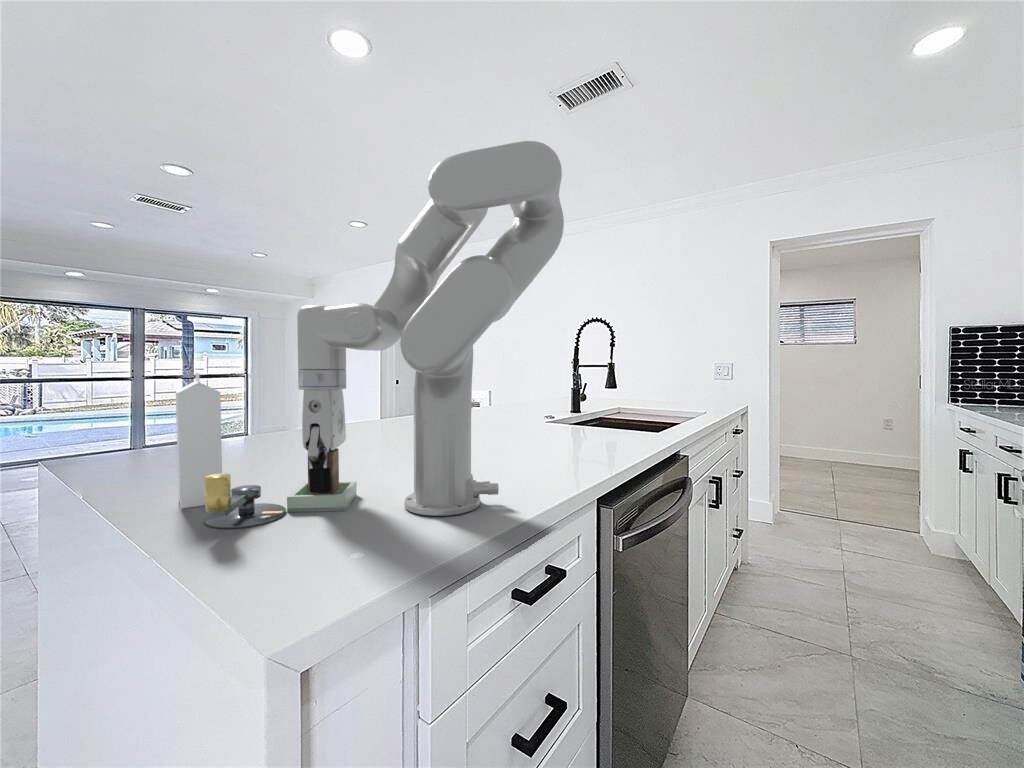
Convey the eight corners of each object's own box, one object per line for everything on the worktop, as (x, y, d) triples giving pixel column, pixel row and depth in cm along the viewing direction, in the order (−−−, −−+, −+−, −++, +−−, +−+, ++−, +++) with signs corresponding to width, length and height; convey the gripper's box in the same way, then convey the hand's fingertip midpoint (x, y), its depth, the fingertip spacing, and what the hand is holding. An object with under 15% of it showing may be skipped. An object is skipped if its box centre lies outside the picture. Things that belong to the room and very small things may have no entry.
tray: (356, 495, 88) (356, 481, 87) (345, 510, 79) (345, 495, 79) (304, 496, 87) (304, 482, 86) (287, 512, 78) (286, 496, 77)
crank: (238, 494, 77) (237, 459, 77) (264, 493, 78) (264, 459, 77) (197, 520, 65) (196, 479, 64) (229, 519, 65) (228, 478, 65)
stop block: (339, 488, 85) (338, 448, 84) (333, 494, 81) (332, 452, 80) (315, 488, 84) (314, 448, 84) (308, 495, 80) (307, 453, 80)
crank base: (295, 504, 82) (295, 488, 81) (270, 527, 71) (270, 509, 71) (225, 506, 80) (225, 490, 80) (189, 530, 69) (189, 511, 69)
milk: (180, 509, 79) (175, 373, 78) (178, 500, 84) (173, 372, 82) (224, 502, 83) (219, 372, 81) (219, 494, 87) (215, 371, 86)
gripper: (333, 382, 74) (335, 502, 75) (355, 378, 90) (356, 476, 91) (281, 382, 73) (283, 503, 74) (313, 378, 89) (314, 477, 90)
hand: (324, 487), depth 82 cm, fingers closed on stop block, 3 cm apart
